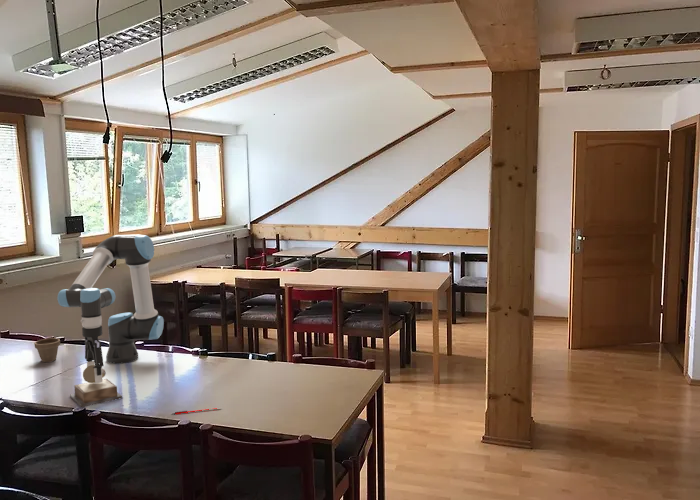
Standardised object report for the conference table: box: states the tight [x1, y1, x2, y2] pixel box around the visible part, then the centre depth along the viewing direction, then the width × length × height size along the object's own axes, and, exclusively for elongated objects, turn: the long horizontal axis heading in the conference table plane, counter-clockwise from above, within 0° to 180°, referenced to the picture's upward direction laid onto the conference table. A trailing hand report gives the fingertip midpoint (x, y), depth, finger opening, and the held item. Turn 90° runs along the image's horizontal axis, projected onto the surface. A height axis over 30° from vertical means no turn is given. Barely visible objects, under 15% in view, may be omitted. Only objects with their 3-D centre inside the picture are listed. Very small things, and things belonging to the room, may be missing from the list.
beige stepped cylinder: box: [82, 364, 107, 383], centre depth 245 cm, size 8×10×10 cm
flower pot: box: [34, 337, 61, 363], centre depth 298 cm, size 12×11×10 cm
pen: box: [173, 407, 218, 415], centre depth 229 cm, size 1×19×1 cm, turn 106°
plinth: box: [69, 378, 123, 408], centre depth 245 cm, size 16×16×5 cm
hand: (95, 379), depth 245 cm, fingers closed on beige stepped cylinder, 9 cm apart
